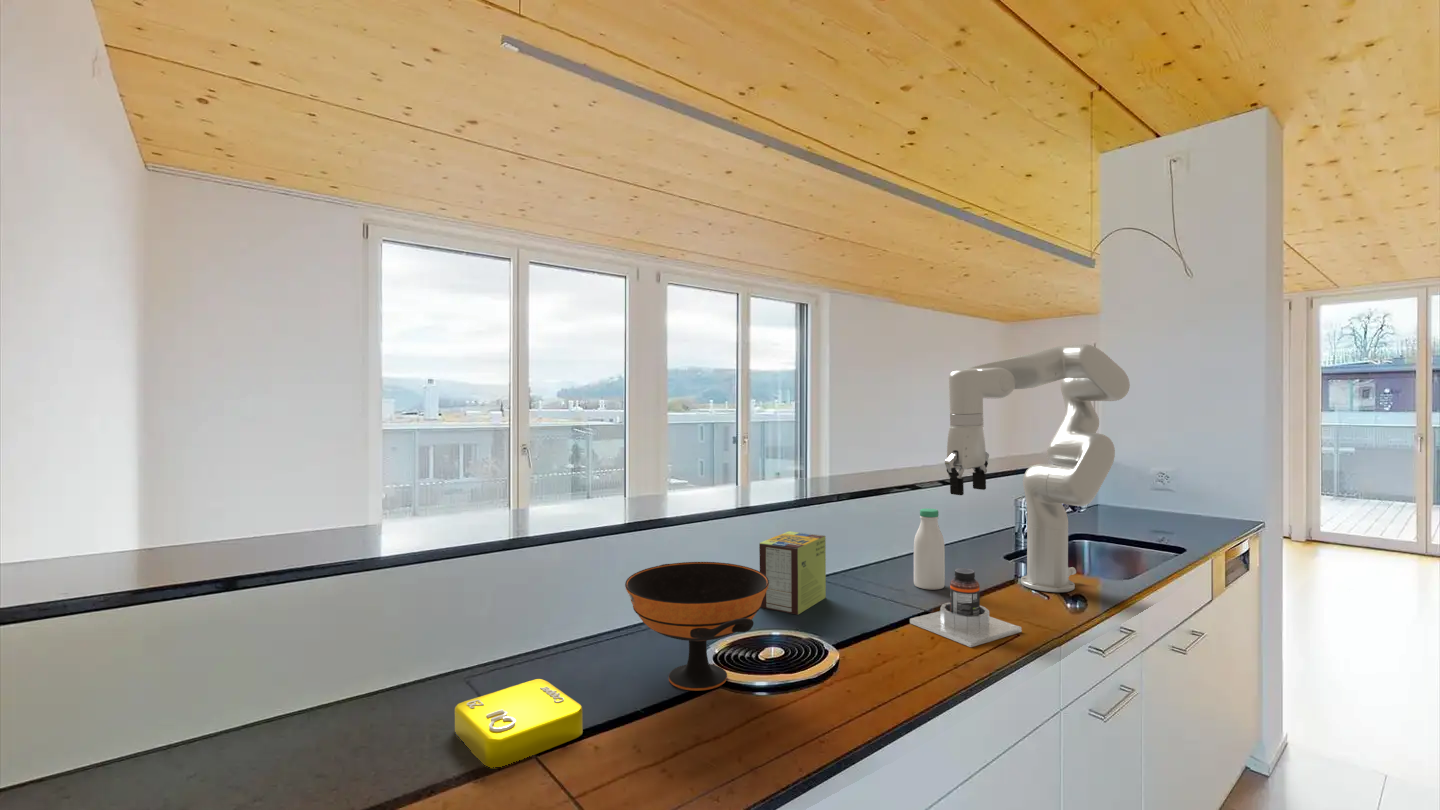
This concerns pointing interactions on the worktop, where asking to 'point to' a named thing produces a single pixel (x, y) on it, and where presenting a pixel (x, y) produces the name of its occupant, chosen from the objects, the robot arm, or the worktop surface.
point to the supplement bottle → (964, 593)
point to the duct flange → (965, 626)
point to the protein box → (793, 571)
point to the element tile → (517, 722)
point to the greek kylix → (697, 610)
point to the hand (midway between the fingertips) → (968, 491)
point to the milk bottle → (929, 552)
